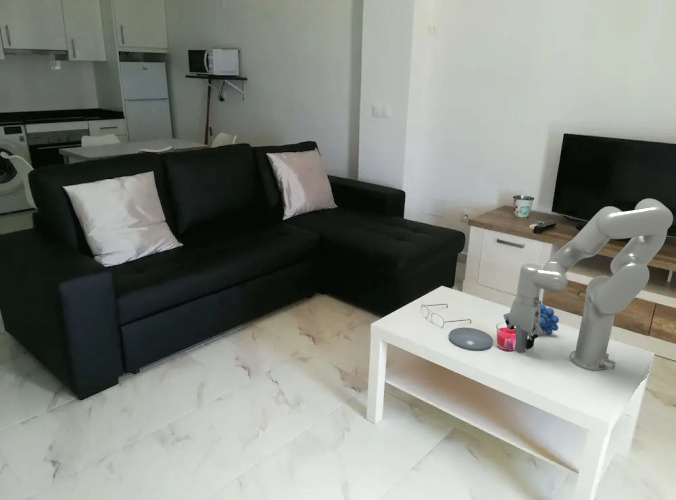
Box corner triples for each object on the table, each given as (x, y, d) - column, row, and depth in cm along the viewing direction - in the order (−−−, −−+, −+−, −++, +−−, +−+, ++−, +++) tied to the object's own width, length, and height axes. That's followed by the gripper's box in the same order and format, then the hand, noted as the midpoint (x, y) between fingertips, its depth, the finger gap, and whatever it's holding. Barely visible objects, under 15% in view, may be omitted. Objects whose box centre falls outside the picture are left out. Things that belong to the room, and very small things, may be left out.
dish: (501, 344, 193) (502, 341, 193) (471, 355, 185) (472, 352, 184) (469, 326, 206) (469, 324, 205) (439, 336, 197) (440, 333, 197)
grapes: (522, 333, 202) (527, 304, 198) (526, 326, 208) (531, 299, 204) (554, 341, 197) (559, 312, 193) (557, 334, 202) (563, 306, 198)
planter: (511, 350, 188) (515, 325, 185) (513, 345, 192) (517, 320, 189) (524, 354, 187) (528, 328, 183) (526, 348, 190) (530, 323, 187)
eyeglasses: (417, 313, 217) (418, 302, 215) (447, 308, 223) (448, 297, 221) (440, 330, 203) (441, 318, 201) (471, 324, 209) (472, 312, 207)
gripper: (555, 305, 178) (546, 351, 184) (514, 288, 192) (507, 331, 197) (541, 310, 174) (533, 356, 180) (500, 291, 188) (493, 335, 193)
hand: (519, 343), depth 189 cm, fingers open, 7 cm apart
